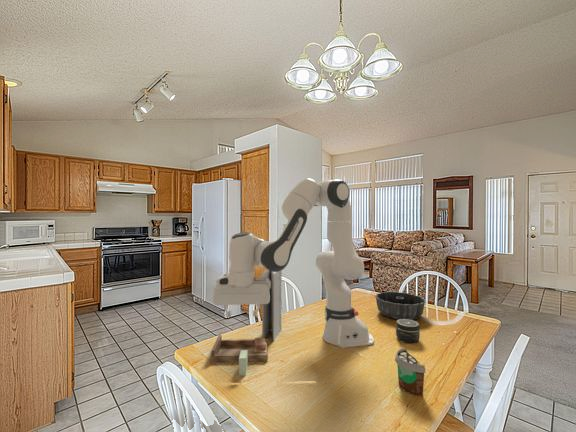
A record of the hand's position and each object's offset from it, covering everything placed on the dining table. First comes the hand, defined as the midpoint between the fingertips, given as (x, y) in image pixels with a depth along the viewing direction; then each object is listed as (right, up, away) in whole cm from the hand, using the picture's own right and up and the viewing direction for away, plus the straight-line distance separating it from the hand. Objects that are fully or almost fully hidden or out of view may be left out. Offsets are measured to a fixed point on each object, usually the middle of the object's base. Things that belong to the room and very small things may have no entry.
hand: (242, 316), depth 103 cm
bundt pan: (+79, -20, +57) cm, 100 cm away
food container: (+55, -20, -10) cm, 59 cm away
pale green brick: (+1, -20, -1) cm, 20 cm away
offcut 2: (+5, -19, +12) cm, 23 cm away
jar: (+70, -20, +26) cm, 78 cm away
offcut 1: (+5, -17, +13) cm, 22 cm away
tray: (-2, -20, +12) cm, 23 cm away
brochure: (+9, -20, +30) cm, 37 cm away
